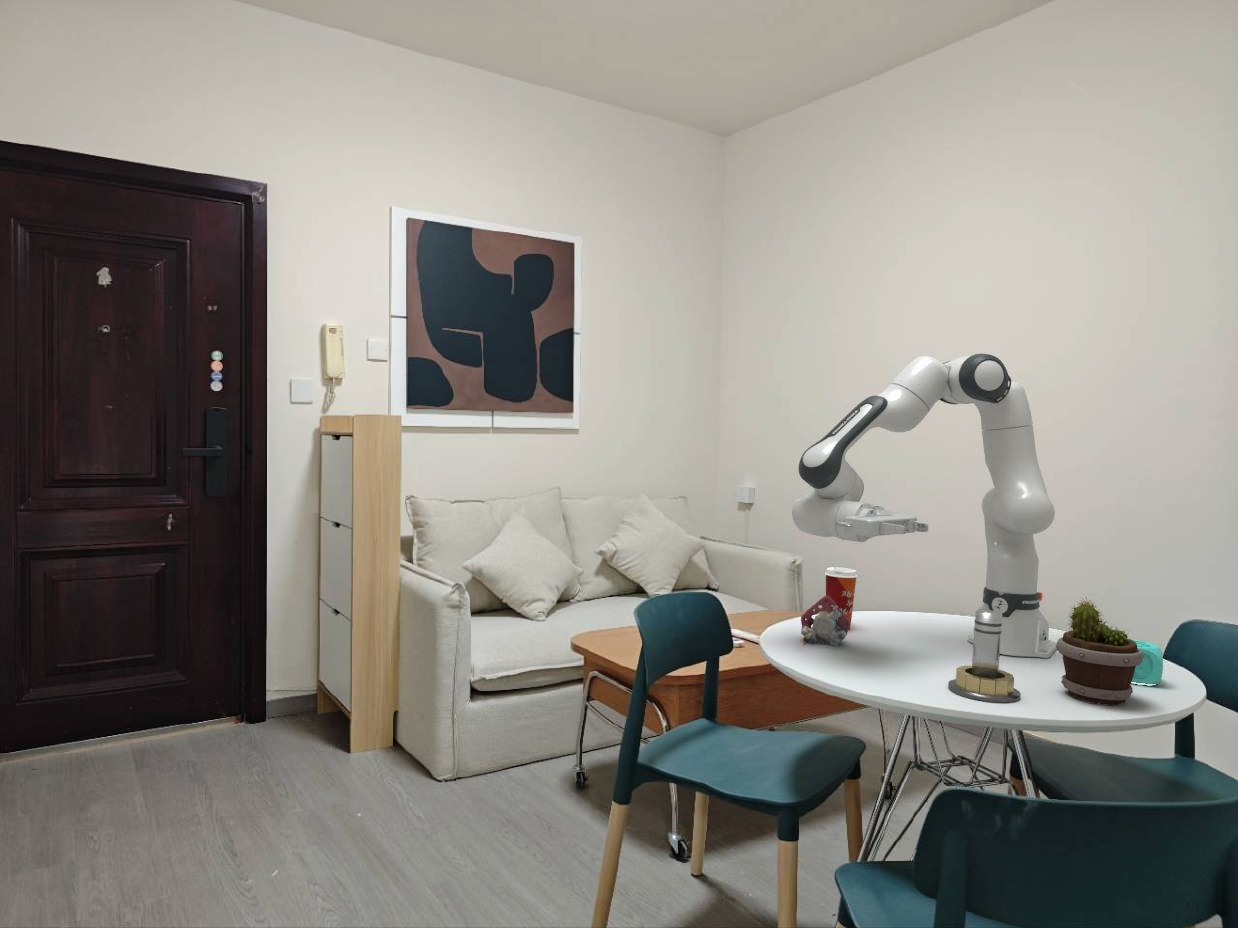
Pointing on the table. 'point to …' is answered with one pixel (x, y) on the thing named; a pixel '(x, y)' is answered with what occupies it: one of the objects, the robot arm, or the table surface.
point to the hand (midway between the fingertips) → (915, 529)
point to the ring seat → (984, 686)
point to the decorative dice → (1149, 664)
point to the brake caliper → (824, 624)
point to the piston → (986, 644)
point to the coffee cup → (841, 588)
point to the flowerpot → (1097, 658)
